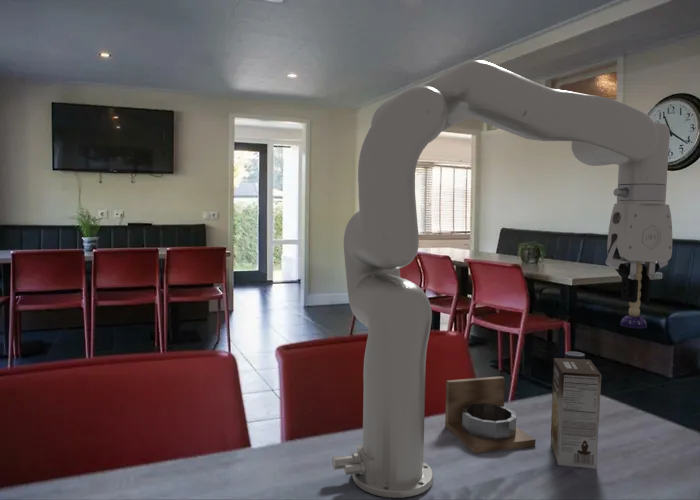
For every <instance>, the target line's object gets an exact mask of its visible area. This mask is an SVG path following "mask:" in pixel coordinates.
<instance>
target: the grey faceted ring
mask: <svg viewBox="0 0 700 500" xmlns="http://www.w3.org/2000/svg"><path fill="white" fill-rule="evenodd" d="M516 427H517V413H516V412H515V411H514V410H513V409H510V408H509V407H506V406H504V407H503V406H499V405H496V404H485V403H480V404H470V405H468V406H466V407H464V408H463V414H462V430H463V431H464V432H466V433H467V434H468V435H470V436H473V437H476V438H479V439H483V440H492V441H500V440H509V439H510V438H512V437H514V436H516Z"/></svg>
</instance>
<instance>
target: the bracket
mask: <svg viewBox="0 0 700 500" xmlns="http://www.w3.org/2000/svg"><path fill="white" fill-rule="evenodd" d="M505 382H506V377H504V376H490V377H489V376H488V377H487V376H486V377H475V378H462V379H448V380H446V382H445V421H444V423H445V425H444V427H445V428H446V429H447V430H448V431H450V432H451V434H453V435H454V436H455V437H456V438H457V439H459V441H460V442H461V443H463V444H464V445H466V447H467V448H468V449H469V450H471V451H472V452H473V453H474V454H478V453H479V454H480V453H488V452H495V451H503V450H504V451H505V450H512V449H514V450H516V449H523V448H530V447H536V439H535V438H534V437H532V436H531V435H530V434H528V433H527V432H525V431H524V430H522V429H521V428H519V427H518V426H516V436H514V437H512V438H510V439H509V440H500V441H492V440H483V439H479V438H476V437H473V436H470V435H468V434H467V433H466V432H464V431H463V430H462V414H463V408H464V407H466V406H468V405H470V404H480V403H485V404H496V405H499V406H503V407H505Z"/></svg>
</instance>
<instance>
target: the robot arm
mask: <svg viewBox="0 0 700 500" xmlns="http://www.w3.org/2000/svg"><path fill="white" fill-rule="evenodd" d="M471 119H473V120H477V121H479V122H482V123H484V124H487V125H489V126H493V127H495V128H498V129H500V130H503V131H505V132H508V133H510V134H512V135H516V136H518V137H520V138H522V139H525V140H529V141H530V140H533V141H540V142H571V151H572V154H573V156H574V157H575V159H577V160H578V161H579V162H580V163H582V164H584V165H588V166H592V167H595V166H597V167H598V166H600V167H601V166H609V165H617V166H618V173H617V188H614V190H613V196H615V197H616V203H614V205H613V206H612V210H611V211H612V212H611V216H610V219H609V226H608V233H607V243H606V244H607V246H606V247H607V250H606V251H607V253H606V254H607V257H606V260H605V264H606V265H607V266H608V267H610V268H613V269H614V270H615V271H616V272H617V273H618V277H619V278H621V288H620V289H621V290H620V291H621V292H620V300H621V301H623V302H628V303H629V302H637V297H638V280H636V279H635V277H636V263H637V262H642V272H641V274H642V279H641V281H640V282H641V289H640V291H641V297H640V302H643V303H649V302H650V300H651V299H650V298H651V297H650V296H651V283H652V282H651V280H654V279H655V275H656V273H657V272H658V271H659V270H660V269H662V268H663V267H664V268H665V267H666V266H667V265H668V263H669V260H670V259H671V258H672V255H673V223H672V222H673V219H672V213H671V209H670V204H666V202H667V201H666V200H667V185H668V184H667V183H668V165H669V154H670V153H669V152H670V137H671V136H670V135H671V134H670V128H669V126H668V125H667V124H665V123H663V122H655V121H654V120H652V118H651V117H650V116H649V115H647V114H646V113H644V112H642V111H641V110H639V109H637V108H635V107H632V106H630V105H627V104H625V103H623V102H620V101H618V100H615V99H611V98H608V97H603V96H600V95H593V94H585V93H580V92H574V91H570V90H562V89H557V88H556V89H555V88H551V87H548V86H546V85H543V84H540V83H538V82H536V81H535V80H531V79H528V78H526V77H524V76H521V75H519V74H517V73H515V72H514V71H513V72H512V71H510V70H507V69H506V68H503V67H500V66H498V65H496V64H494V63H491V62H488V61H486V60H480V59H478V60H477V59H475V60H470V61H466V62H464V63H461V64H460V65H458V66H456V67H454V68H452V69H450V70H449V71H447V72H445V73H443V74H441V75H440V76H438V77H436V78H434V79H432V80H431V81H428V82H427V83H425V84H423V85H418V86H413V87H410V88H408V89H406V90H404V91H402V92H401V93H399V94H397V95H395V96H394V97H393V98H390V99H389V100H387V101H385V102H384V103H382V104H381V105H380V106H379V107H377V109H375V112H374V113H373V115H372V118H371V124H370V127H369V129H368V131H367V133H366V135H365V138H364V140H363V142H362V145H361V147H360V148H361V150H360V153H359V158H358V165H357V166H358V167H357V182H358V187H357V188H358V205H359V206H358V208H359V210H358V211H357V212H356V213H354V214H353V215H352V216H351V218H350V219H349V220H348V222H347V224H346V227H345V230H344V234H343V254H344V257H343V258H344V267H345V278H346V288H347V297H348V303H349V306H350V310H351V312H352V314H353V316H354V317H355V318H356V320H358V322H359V323H361V324H362V325H363V326H365V327H366V328H368V330H367V333H368V334H367V339H366V345H365V352H364V357H363V358H364V359H363V398H362V399H363V403H362V405H363V408H362V416H363V417H362V445H357V446H356V448H357V449H356V450H357V451H356V452H351V455H337V456H332V459H331V460H332V461H331V464H332V469H333V470H334V471H338V470H343V472H344V475H345V476H347V475H351V476H352V479H353V482H354V484H355V485H356V486H357V487H359V488H360V489H361V490H363V491H364V492H367V493H369V494H371V495H374V496H378V497H384V498H390V499H392V498H393V499H398V498H399V499H401V498H403V499H404V498H410V497H414V496H418V495H420V494H423V493H425V492H427V491H428V490H429V489H430V488H431V486H432V485H433V483H434V472H433V470H432V468H431V467H430V466H429V465H428V464H427V463H426V462H424V457H425V456H424V453H425V447H424V446H425V411H426V410H425V404H426V401H425V400H426V361H427V350H428V342H429V338H430V334H431V333H430V332H431V328H432V327H431V326H432V320H433V313H432V304H431V303H430V302H431V301H430V300H429V298H428V295H427V294H426V292H424V290H423V289H422V288H421V287H420V286H419V285H417V284H416V283H414V282H413V281H411V280H408V279H406V278H403V277H401V272H400V269H402V268H404V267H406V266H408V265H410V264H411V263H412V262H413V261H414V259H415V257H416V256H417V254H418V252H419V251H418V250H419V245H420V244H419V242H420V235H419V227H418V225H419V224H418V212H417V203H416V202H417V201H416V199H417V198H416V168H417V165H418V161H419V159H420V156H421V155H422V153H423V151H424V149H425V148H427V146H428V144H429V143H431V142H433V141H434V140H435V139H437V137H439V136H440V134H441V133H442V132H443V131H446V130H448V129H449V128H451V127H453V126H455V125H457V124H460V123H462V122H464V121H467V120H468V121H469V120H471Z"/></svg>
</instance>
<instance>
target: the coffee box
mask: <svg viewBox="0 0 700 500" xmlns="http://www.w3.org/2000/svg"><path fill="white" fill-rule="evenodd" d="M552 370H553V371H552V393H551V395H552V398H551V419H550V421H551V423H550V444H551V445H550V446H551V448H552V451H553V454H554V457H555V460H556V464H557V465H558V466H561V467H562V466H563V467H572V468H586V469H593V470H594V469H596V470H597V466H598V463H597V462H598V446H599V445H598V443H599V442H598V441H599V423H600V406H601V391H602V389H601V387H602V386H601V385H602V374H601V372H600V370H598V368H597V367H596V366H595V364H594V363H593V361H592V360H591V359H586V358H585V359H565V357H564V358H561V357H560V358H559V357H553V369H552Z"/></svg>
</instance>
